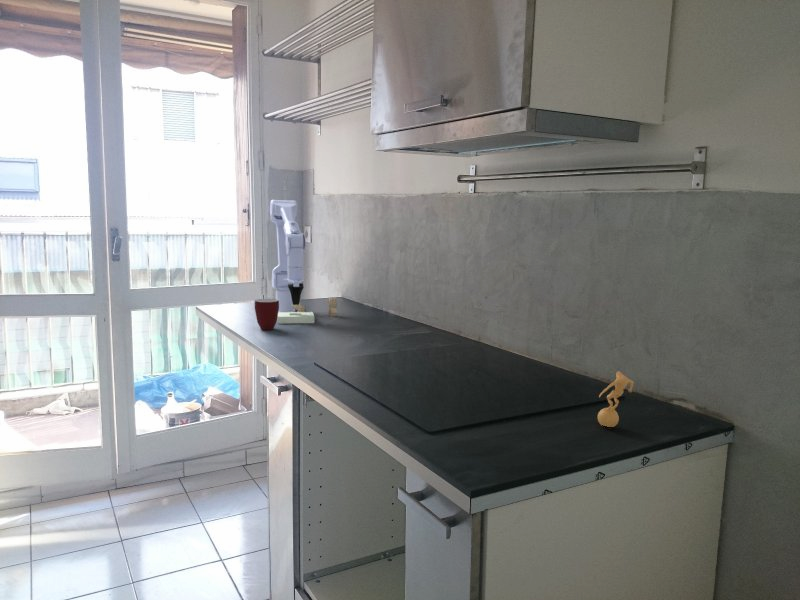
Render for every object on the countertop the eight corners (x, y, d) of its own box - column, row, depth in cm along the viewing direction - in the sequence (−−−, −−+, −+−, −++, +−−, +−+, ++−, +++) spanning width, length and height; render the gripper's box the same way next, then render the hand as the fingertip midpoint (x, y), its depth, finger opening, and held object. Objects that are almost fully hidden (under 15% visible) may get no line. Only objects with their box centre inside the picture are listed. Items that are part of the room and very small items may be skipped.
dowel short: (297, 315, 234) (297, 305, 234) (305, 315, 235) (305, 305, 234) (297, 317, 232) (297, 306, 231) (305, 317, 232) (305, 306, 232)
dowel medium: (293, 307, 224) (293, 292, 224) (301, 307, 224) (301, 292, 224) (291, 308, 221) (291, 293, 221) (299, 308, 221) (299, 293, 221)
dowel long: (328, 315, 237) (328, 297, 236) (336, 315, 237) (336, 297, 236) (329, 316, 234) (329, 298, 233) (336, 316, 235) (337, 298, 233)
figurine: (615, 421, 125) (619, 364, 123) (638, 431, 119) (643, 372, 117) (584, 426, 121) (588, 368, 119) (606, 437, 116) (611, 376, 114)
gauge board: (277, 319, 227) (277, 312, 226) (312, 318, 229) (312, 312, 229) (277, 323, 218) (277, 316, 218) (314, 323, 221) (314, 316, 220)
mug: (250, 326, 212) (249, 298, 210) (272, 325, 215) (272, 297, 214) (258, 332, 202) (258, 302, 201) (282, 330, 206) (282, 301, 205)
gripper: (284, 265, 227) (284, 300, 229) (284, 268, 213) (284, 307, 215) (303, 265, 228) (303, 300, 230) (305, 269, 214) (305, 307, 216)
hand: (295, 303), depth 223 cm, fingers closed on dowel medium, 3 cm apart
